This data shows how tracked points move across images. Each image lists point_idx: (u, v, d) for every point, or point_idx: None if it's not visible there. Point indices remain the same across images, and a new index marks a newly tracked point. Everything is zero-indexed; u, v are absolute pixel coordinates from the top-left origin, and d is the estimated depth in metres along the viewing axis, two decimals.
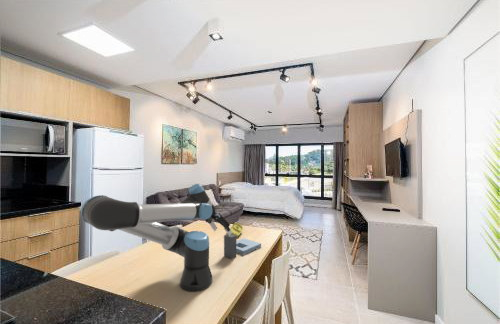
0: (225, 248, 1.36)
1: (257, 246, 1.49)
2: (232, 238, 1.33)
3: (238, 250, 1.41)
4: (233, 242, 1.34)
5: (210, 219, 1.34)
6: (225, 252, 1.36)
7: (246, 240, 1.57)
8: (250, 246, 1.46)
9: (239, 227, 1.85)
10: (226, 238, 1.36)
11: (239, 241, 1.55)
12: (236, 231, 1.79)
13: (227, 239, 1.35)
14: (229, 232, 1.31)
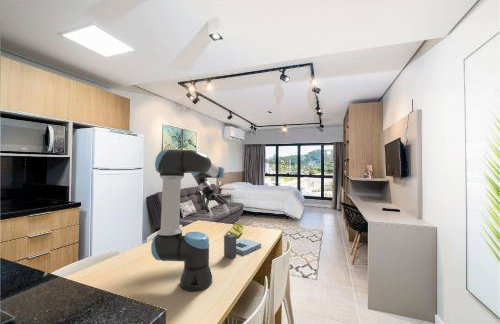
0: (225, 248, 1.36)
1: (257, 246, 1.49)
2: (232, 238, 1.33)
3: (238, 250, 1.41)
4: (233, 242, 1.34)
5: (208, 202, 1.44)
6: (225, 252, 1.36)
7: (246, 240, 1.57)
8: (250, 246, 1.46)
9: (240, 227, 1.85)
10: (225, 238, 1.36)
11: (239, 241, 1.55)
12: (236, 231, 1.79)
13: (227, 239, 1.35)
14: None
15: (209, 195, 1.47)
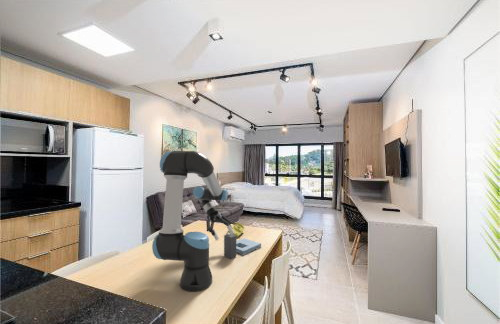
0: (225, 248, 1.36)
1: (257, 246, 1.49)
2: (232, 238, 1.33)
3: (238, 250, 1.41)
4: (233, 242, 1.34)
5: (213, 223, 1.42)
6: (225, 252, 1.36)
7: (246, 240, 1.57)
8: (250, 246, 1.46)
9: (241, 227, 1.85)
10: (225, 238, 1.36)
11: (239, 241, 1.55)
12: (237, 231, 1.80)
13: (227, 239, 1.35)
14: None
15: (214, 217, 1.45)
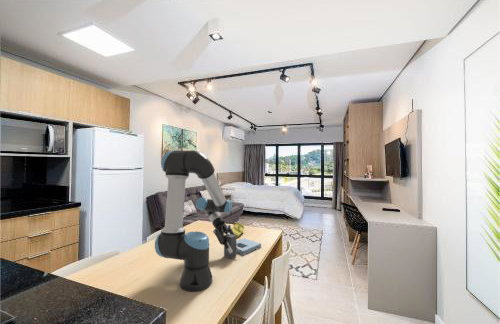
0: (225, 248, 1.36)
1: (257, 246, 1.49)
2: (232, 238, 1.33)
3: (238, 250, 1.41)
4: (233, 242, 1.34)
5: (223, 235, 1.38)
6: (225, 252, 1.36)
7: (246, 240, 1.57)
8: (250, 246, 1.46)
9: (241, 227, 1.86)
10: (226, 238, 1.36)
11: (239, 241, 1.55)
12: (237, 231, 1.80)
13: (227, 239, 1.35)
14: None
15: (221, 227, 1.39)
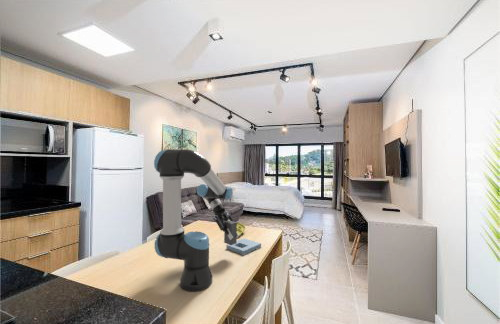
0: (225, 235, 1.36)
1: (257, 246, 1.49)
2: (232, 224, 1.34)
3: (238, 250, 1.41)
4: (233, 229, 1.34)
5: None
6: (225, 239, 1.36)
7: (246, 240, 1.57)
8: (250, 246, 1.46)
9: (242, 227, 1.85)
10: (226, 225, 1.36)
11: (239, 241, 1.55)
12: (238, 231, 1.80)
13: (227, 226, 1.35)
14: None
15: (221, 214, 1.40)
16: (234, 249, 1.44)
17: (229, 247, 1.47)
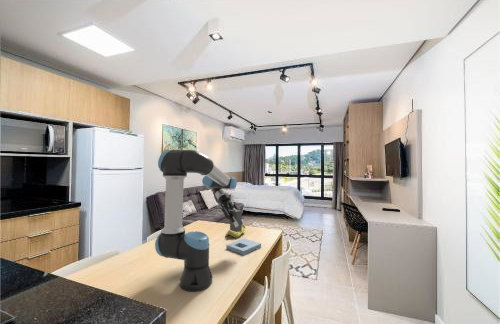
0: (231, 222, 1.42)
1: (257, 246, 1.49)
2: (238, 212, 1.40)
3: (238, 250, 1.41)
4: (238, 217, 1.40)
5: None
6: (231, 226, 1.42)
7: (246, 240, 1.57)
8: (250, 246, 1.46)
9: (242, 227, 1.85)
10: (231, 213, 1.42)
11: (239, 241, 1.55)
12: None
13: (232, 214, 1.41)
14: None
15: (227, 203, 1.45)
16: (234, 249, 1.44)
17: (229, 247, 1.47)
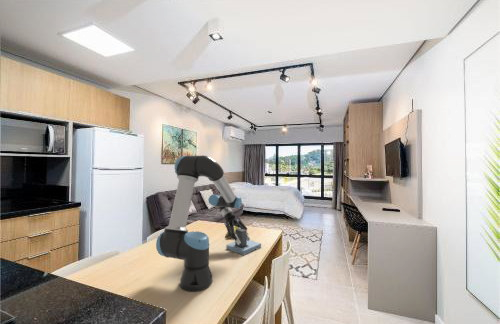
0: None
1: (257, 246, 1.49)
2: (243, 232, 1.45)
3: (238, 250, 1.41)
4: (243, 236, 1.45)
5: None
6: (236, 245, 1.47)
7: None
8: (250, 246, 1.46)
9: None
10: (237, 232, 1.47)
11: None
12: None
13: (238, 233, 1.47)
14: None
15: (232, 221, 1.51)
16: (234, 249, 1.44)
17: (229, 247, 1.47)
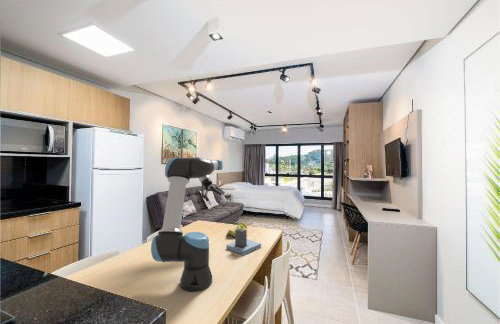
0: (236, 241, 1.48)
1: (257, 246, 1.49)
2: (243, 232, 1.45)
3: (238, 250, 1.41)
4: (243, 236, 1.45)
5: (207, 192, 1.58)
6: (236, 245, 1.47)
7: None
8: (250, 246, 1.46)
9: (244, 227, 1.86)
10: (237, 232, 1.47)
11: None
12: None
13: (238, 233, 1.47)
14: None
15: (208, 186, 1.61)
16: (234, 249, 1.44)
17: (229, 247, 1.47)
